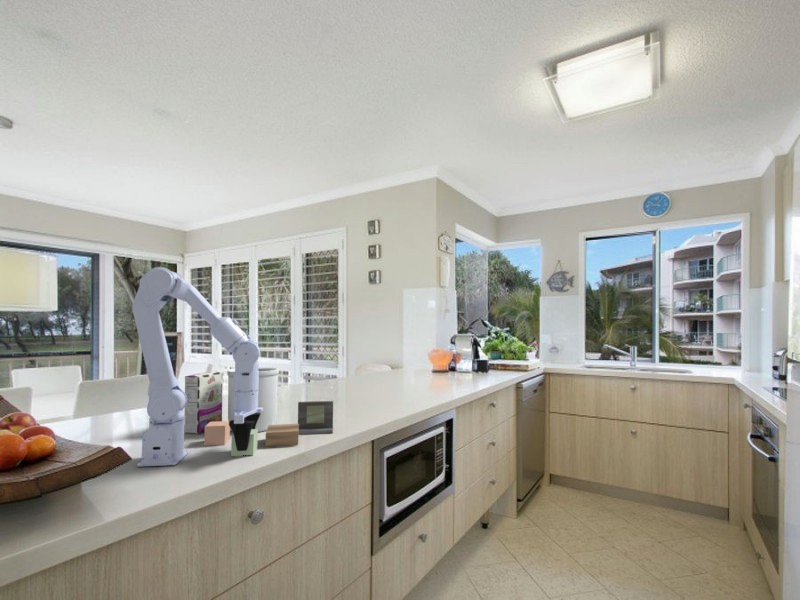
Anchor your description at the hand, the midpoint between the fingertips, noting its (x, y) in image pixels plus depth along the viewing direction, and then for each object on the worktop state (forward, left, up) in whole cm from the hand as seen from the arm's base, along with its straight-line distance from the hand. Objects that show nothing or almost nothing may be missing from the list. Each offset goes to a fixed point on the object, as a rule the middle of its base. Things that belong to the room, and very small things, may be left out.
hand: (244, 446), depth 100 cm
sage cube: (0, 0, -1) cm, 1 cm away
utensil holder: (+25, +3, -2) cm, 25 cm away
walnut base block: (+8, -8, -2) cm, 11 cm away
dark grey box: (+18, -16, -1) cm, 24 cm away
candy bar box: (+25, +17, -2) cm, 30 cm away
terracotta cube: (+10, +9, -2) cm, 14 cm away
